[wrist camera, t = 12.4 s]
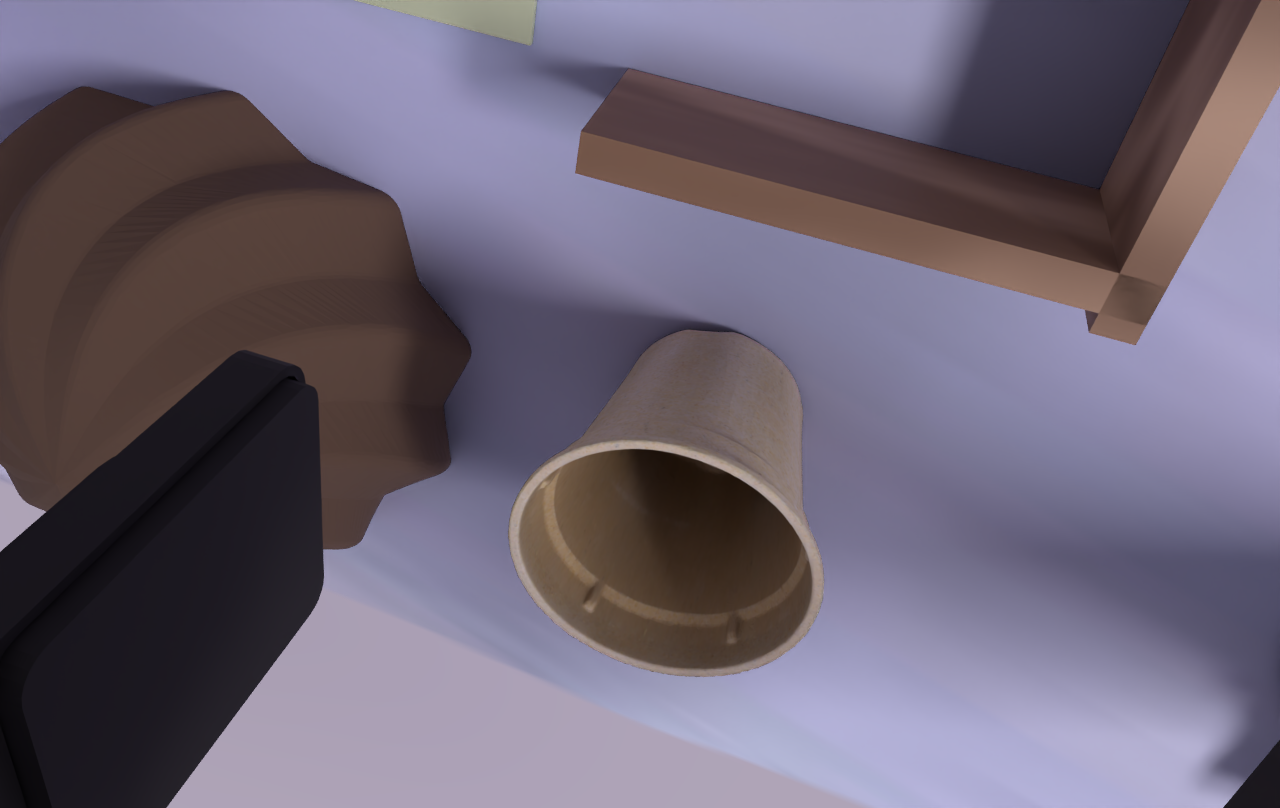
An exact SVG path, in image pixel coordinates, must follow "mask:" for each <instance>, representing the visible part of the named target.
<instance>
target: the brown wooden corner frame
mask: <svg viewBox="0 0 1280 808" xmlns="http://www.w3.org/2000/svg"><path fill="white" fill-rule="evenodd" d="M1279 86H1280V0H1190V1H1189V3H1188V6H1187V8H1186V10H1185V12H1184V14H1183V16H1182V18H1181V20H1180V22H1179V24H1178V27H1177V29H1176V31H1175V33H1174V35H1173V37H1172V39H1171V41H1170V43H1169V45H1168V47H1167V50H1166V52H1165V54H1164V56H1163V58H1162V60H1161V62H1160V64H1159V66H1158V68H1157V70H1156V73H1155V75H1154V77H1153V79H1152V81H1151V83H1150V85H1149V87H1148V89H1147V91H1146V94H1145V96H1144V98H1143V100H1142V102H1141V104H1140V106H1139V108H1138V110H1137V112H1136V114H1135V117H1134V119H1133V121H1132V123H1131V125H1130V127H1129V129H1128V131H1127V133H1126V135H1125V137H1124V140H1123V142H1122V144H1121V146H1120V148H1119V150H1118V152H1117V154H1116V156H1115V158H1114V161H1113V163H1112V165H1111V167H1110V169H1109V171H1108V173H1107V175H1106V177H1105V179H1104V181H1103V184H1102V186H1101V188H1100V190H1099V189H1095V188H1092V187H1088V186H1084V185H1080V184H1076V183H1072V182H1068V181H1064V180H1061V179H1057V178H1053V177H1049V176H1045V175H1041V174H1037V173H1033V172H1029V171H1026V170H1022V169H1018V168H1014V167H1010V166H1006V165H1002V164H998V163H994V162H991V161H987V160H983V159H979V158H975V157H971V156H967V155H963V154H960V153H956V152H952V151H948V150H944V149H940V148H936V147H932V146H928V145H925V144H921V143H917V142H913V141H909V140H905V139H901V138H897V137H893V136H890V135H886V134H882V133H878V132H874V131H870V130H866V129H862V128H859V127H855V126H851V125H847V124H843V123H839V122H835V121H831V120H827V119H824V118H820V117H816V116H812V115H808V114H804V113H800V112H796V111H792V110H789V109H785V108H781V107H777V106H773V105H769V104H765V103H761V102H758V101H754V100H750V99H746V98H742V97H738V96H734V95H730V94H726V93H723V92H719V91H715V90H711V89H707V88H703V87H699V86H695V85H691V84H688V83H684V82H680V81H676V80H672V79H668V78H664V77H660V76H657V75H653V74H649V73H645V72H641V71H637V70H633V69H629V68H628V70H627V71H626V72H625V74H624V75H623V76H622V78H621V79H620V80H619V82H618V83H617V84H616V86H615V87H614V88H613V90H612V91H611V92H610V94H609V95H608V96H607V98H606V99H605V100H604V102H603V103H602V104H601V106H600V107H599V108H598V110H597V111H596V112H595V113H594V115H593V116H592V117H591V119H590V120H589V121H588V123H587V124H586V125H585V127H584V128H583V129H582V131H581V135H580V143H579V150H578V157H577V164H576V171H575V173H577V174H580V175H584V176H588V177H591V178H595V179H599V180H603V181H606V182H610V183H614V184H618V185H621V186H625V187H629V188H633V189H636V190H640V191H644V192H647V193H651V194H655V195H659V196H662V197H666V198H670V199H674V200H677V201H681V202H685V203H689V204H692V205H696V206H700V207H703V208H707V209H711V210H715V211H718V212H722V213H726V214H730V215H733V216H737V217H741V218H745V219H748V220H752V221H756V222H759V223H763V224H767V225H771V226H774V227H778V228H782V229H786V230H789V231H793V232H797V233H800V234H804V235H808V236H812V237H815V238H819V239H823V240H827V241H830V242H834V243H838V244H842V245H845V246H849V247H853V248H856V249H860V250H864V251H868V252H871V253H875V254H879V255H883V256H886V257H890V258H894V259H898V260H901V261H905V262H909V263H912V264H916V265H920V266H924V267H927V268H931V269H935V270H939V271H942V272H946V273H950V274H954V275H957V276H961V277H965V278H968V279H972V280H976V281H980V282H983V283H987V284H991V285H995V286H998V287H1002V288H1006V289H1010V290H1013V291H1017V292H1021V293H1024V294H1028V295H1032V296H1036V297H1039V298H1043V299H1047V300H1051V301H1054V302H1058V303H1062V304H1065V305H1069V306H1073V307H1077V308H1080V309H1084V310H1085V313H1086V318H1087V324H1088V330H1089V333H1092V334H1096V335H1100V336H1103V337H1107V338H1111V339H1114V340H1118V341H1122V342H1126V343H1129V344H1133V345H1136V343H1137V342H1138V340H1139V338H1140V336H1141V334H1142V333H1143V331H1144V329H1145V327H1146V325H1147V324H1148V322H1149V320H1150V318H1151V316H1152V315H1153V313H1154V311H1155V309H1156V307H1157V306H1158V304H1159V302H1160V300H1161V298H1162V297H1163V295H1164V293H1165V291H1166V289H1167V288H1168V286H1169V284H1170V282H1171V280H1172V279H1173V277H1174V275H1175V273H1176V271H1177V270H1178V268H1179V266H1180V264H1181V262H1182V261H1183V259H1184V257H1185V255H1186V253H1187V252H1188V250H1189V248H1190V246H1191V244H1192V243H1193V241H1194V239H1195V237H1196V235H1197V234H1198V232H1199V230H1200V228H1201V226H1202V225H1203V223H1204V221H1205V219H1206V217H1207V216H1208V214H1209V212H1210V210H1211V208H1212V207H1213V205H1214V203H1215V201H1216V199H1217V198H1218V196H1219V194H1220V192H1221V190H1222V189H1223V187H1224V185H1225V183H1226V181H1227V180H1228V178H1229V176H1230V174H1231V173H1232V171H1233V169H1234V167H1235V165H1236V164H1237V162H1238V160H1239V158H1240V156H1241V155H1242V153H1243V151H1244V149H1245V147H1246V146H1247V144H1248V142H1249V140H1250V138H1251V137H1252V135H1253V133H1254V131H1255V129H1256V128H1257V126H1258V124H1259V122H1260V120H1261V119H1262V117H1263V115H1264V113H1265V111H1266V110H1267V108H1268V106H1269V104H1270V102H1271V101H1272V99H1273V97H1274V95H1275V93H1276V92H1277V90H1278V88H1279Z"/></svg>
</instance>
